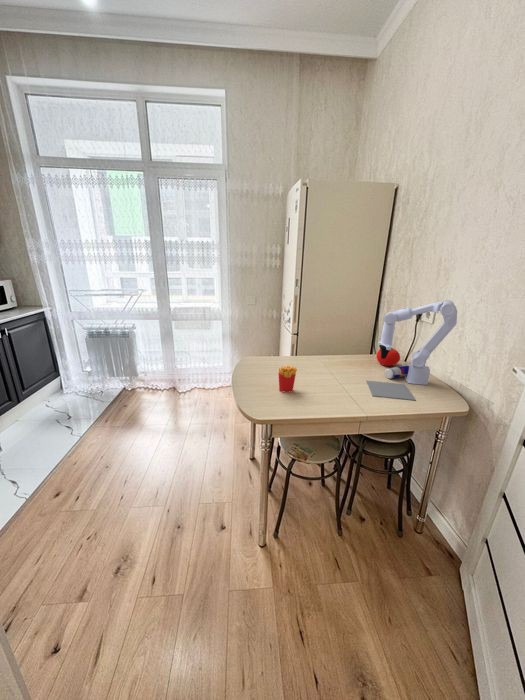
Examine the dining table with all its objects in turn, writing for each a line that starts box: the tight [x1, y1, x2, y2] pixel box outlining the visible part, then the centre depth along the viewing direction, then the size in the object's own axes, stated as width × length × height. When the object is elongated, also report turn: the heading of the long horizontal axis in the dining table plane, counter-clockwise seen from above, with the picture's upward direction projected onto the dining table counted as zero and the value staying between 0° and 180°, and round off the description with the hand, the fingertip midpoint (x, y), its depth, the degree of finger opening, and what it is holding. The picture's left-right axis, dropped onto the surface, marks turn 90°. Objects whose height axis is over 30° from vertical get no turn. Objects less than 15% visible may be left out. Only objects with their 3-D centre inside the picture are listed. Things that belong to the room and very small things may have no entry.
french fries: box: [278, 365, 298, 393], centre depth 134 cm, size 8×4×12 cm, turn 92°
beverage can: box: [384, 364, 410, 380], centre depth 155 cm, size 6×6×15 cm
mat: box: [366, 380, 416, 402], centre depth 140 cm, size 19×17×1 cm
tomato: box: [376, 347, 401, 367], centre depth 171 cm, size 12×13×11 cm
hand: (383, 358), depth 155 cm, fingers closed
